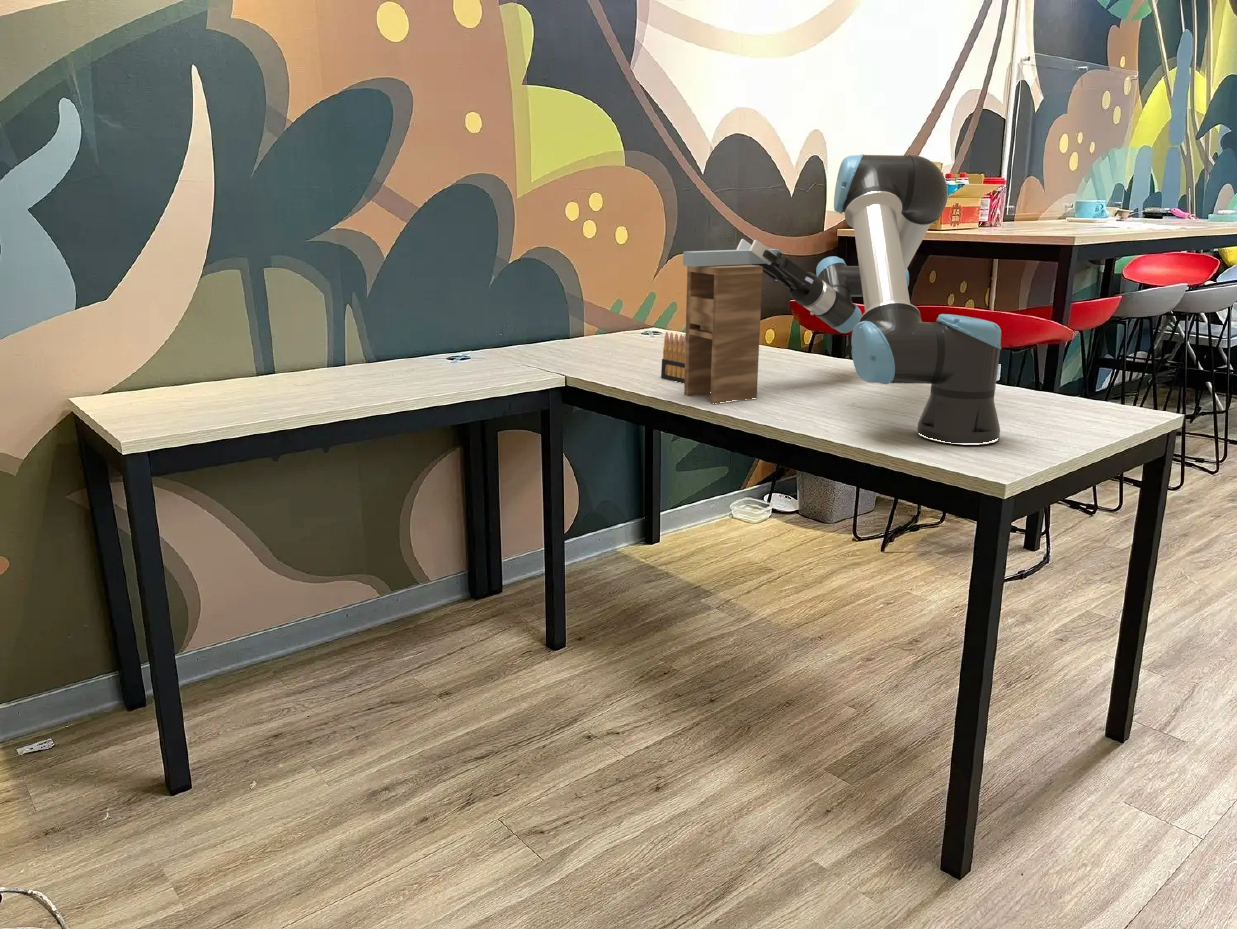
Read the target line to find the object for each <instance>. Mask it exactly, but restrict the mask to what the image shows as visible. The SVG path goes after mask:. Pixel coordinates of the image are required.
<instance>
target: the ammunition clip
mask: <svg viewBox="0 0 1237 929" xmlns="http://www.w3.org/2000/svg"><path fill="white" fill-rule="evenodd" d="M684 335H685V334H684ZM685 342H686V335H685V338H684V344H683V334H680V335H678V333H677V332H675V335H674V334H673V332H670V335H669V333H668V331H666V332H665V335H664V341H663V348H662V349H663V352H662V354H663V355H662V358H661V369H660V370H661V372H660V373H661V374H660V379H661V378H662V380H666V381H671V382H674V381H677V382H676V383H679V382H681V383H680V384H683V383H684V384H685Z"/></svg>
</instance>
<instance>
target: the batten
mask: <svg viewBox="0 0 1237 929" xmlns="http://www.w3.org/2000/svg"><path fill="white" fill-rule="evenodd" d="M768 249H769V250H771V251H772V252H773V253H775V256H776V255H777V253H778V252H780V253H782V252H781V249H778V248H768ZM749 250H750V249H747V250H736V249H726V250H725V249H722V250H721V249H719V250H697V251H696V250H691V251H690V250H689V251H687V250H686V251H683V253H682V266H684V267H687V266H692V267H697V266H720V265H744V264H746V265H752V264H767V263H765V262H764V261H763V260H761V259H760V258H759V257H757V256H756V255H754V254H753V253H752V252H750V251H749ZM771 263H772V262H771Z"/></svg>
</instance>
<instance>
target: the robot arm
mask: <svg viewBox="0 0 1237 929" xmlns="http://www.w3.org/2000/svg"><path fill="white" fill-rule="evenodd" d="M948 192H949V190H948V184H947V181H946V178H945V176H944V174H943V172H942V171H941V169H940V168H939V167H938V166H937V165H936V164H935V163H934V162H933V161H931V160H930V159H929V158H926V157H924V156H922V155H921V156H919V155H914V154H913V155H911V154H909V155H903V154H902V155H893V154H892V155H885V154H884V155H883V154H880V155H879V154H863V153H861V154H858V155H848V156H846V157H844V158H843V159H842V161H841V162H840V166H839V169H838V173H837V177H836V183H835V187H834V194H833V195H834V196H833V209H834V211H835V212H836V213H839V215H840V214H844V219H845V222H846V223H847V225H848V226H849V227H851V228H853V231H854V237H855V246H856V253H857V260H858V265H847V264H846V262H845V260H844V258H840V257H838V256H833V255H832V256H827V257H825V258H823V259H822V260H821V261H819V262H818V263H817V266H816V269H815V270H816V274H814V273H813V272H811V271H806V270H804V269H802V267H800V266H798V265H797V264H796V263H795V262H793V261H792V260H790V259H789V258H788V257H786V256H783V257H782V255H783V253H782V252H781V253H780V252H778V253H777V255H776V256H775V253H773V252H772V251H771V250H769V249H770V248H769V247H766V246H765V245H764V244H763V243H761V242H760V241H759V240H757V239H754V240H753V242H752V244H751V243H750V242H748V241H747V240H745V239H744V238H742V239H740V241H739V243H738V245H737V247H736V249H735V250H747V249H750V250H749V251H750V252H752V253H753V254H754V255H756V256H757V257H759V258H760V259H761V260H763V261H764V262H765V263H767V264H751V265H755V266H763V273H762V274H763V275H765V276H766V277H768V279H769V278H770V280H771V281H772V282H773V283H774V284H777V283H778V282H779V283H780V284H782V285H783V286H784V287H785V288H787V289H789V291H790V293H789V294H790V298H791V299H792V300H794V301H795V302H796V303H798V305H801V306H802V307H803V308H805V309H806V310H808V311H809V312H810V313H809V314H810V316H814V315H815V316H816V317H817V318H818V319H820V320H821V321H822V322H824V323H825V324H827V325H828V326H829V327H830V328H831V329H834V330H836V331H837V332H839V333H841V334H847V333H850V332H852V333H851V339H850V340H851V342H850V343H851V358H852V362H853V363H852V364H853V366H854V368H855V371H856V374H857V375H858V377H859V378H860V380H863V381H865V382H867V383H871V384H881V385H889V384H930V385H931V386H930V393H929V394H930V395H929V397H928V399H927V402H926V404H925V407H924V408H923V411H922V412H921V415H920V417H919V419H918V422H917V430H916V432H917V431H918V433H920V434H922V435H924V436H926V437H928V438H933V439H937V440H941V441H945V442H951V443H983V442H989V441H992V440H995V439H997V438H999V439H1000V435H1001V428H1000V423H999V422H1000V421H999V417H998V413H997V408H996V404H995V394H996V386H997V376H998V369H999V360H1000V354H1001V350H1002V345H1001V343H1002V341H1001V340H1002V330H1001V327H1000V326H999V325H998V324H997V323H995V322H993V321H991V320H990V321H989V320H986V319H982V318H977V317H971V316H965V315H958V314H949V313H947V314H946V313H941V314H939V315H938V317H937V318H936V322H935V321H934V322H933V321H931V322H929V321H928V322H927V321H923V320H922V316H921V312H920V310H919V308H917V307H916V306H915V305H913V304H911V301H910V294H909V289H908V287H909V285H910V273H909V270H908V267H909V266H910V264H911V262H912V260H913V258H914V256H915V255H916V253H917V250H919V247H920V245H921V244H922V242H923V240H924V238H925V235H926V234H927V232H928V230H929V228H930V227H931V225H932V224H934V223H936V222H937V221H938V220H939V219H940V217H942V214H943V212H944V211H945V209H946V206H947V204H948V203H947V202H948V196H949V194H948ZM771 262H772V263H771ZM852 297H861V298H862V297H863V306H864V312H863V314H862V311H861V309H860V308H859V307H858V305H857V304H855V303H853V301H852Z"/></svg>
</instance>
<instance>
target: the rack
mask: <svg viewBox="0 0 1237 929" xmlns="http://www.w3.org/2000/svg"><path fill="white" fill-rule="evenodd" d="M686 267H687V269H686V271H687V273H686V307H685V308H686V309H685V310H686V311H685V315H686V316H685V334H686V342H685V384H684V385H683V386H684V387H683V388H684V390H683V391H684V392H683V393H684V394H683V395H685V396H687V397H690V396H700V395H705V394H706V393H708V394H710V396H709V397H710V399H709V400H710V401H709V403H710V402H711V403H714V404H713V405H716V404H715V403H720V402H726V401H732V400H745V399H752V398H757V396H758V380H759V379H758V377H759V376H758V375H759V374H758V373H759V356H760V355H759V353H760V337H761V336H760V334H761V312H762V290H763V274H764V273H763V266H755V265H752V264H744V265H720V266H697V267H692V266H686ZM710 392H711V393H710ZM757 399H758V398H757ZM745 401H746V400H745ZM711 403H710V404H711Z"/></svg>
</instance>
